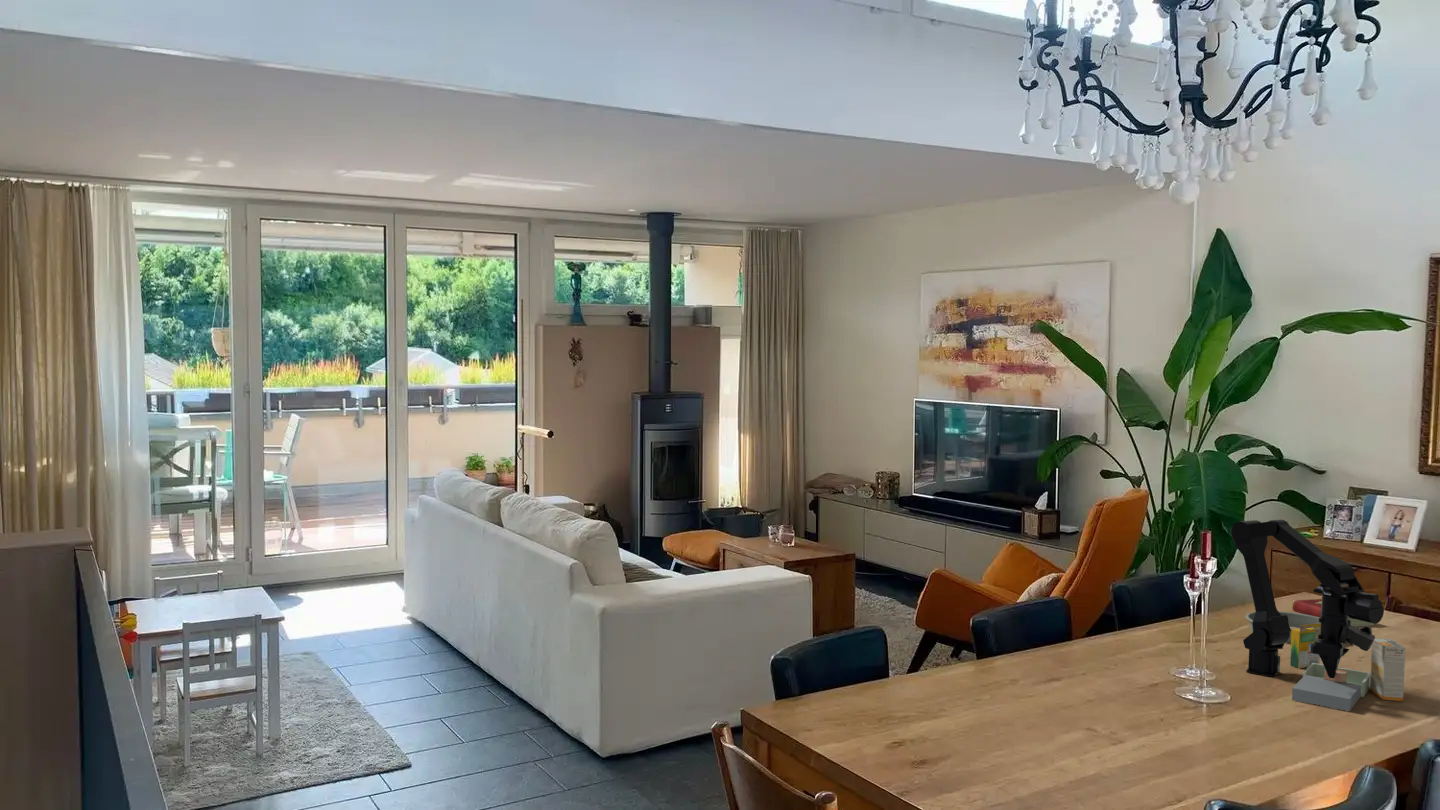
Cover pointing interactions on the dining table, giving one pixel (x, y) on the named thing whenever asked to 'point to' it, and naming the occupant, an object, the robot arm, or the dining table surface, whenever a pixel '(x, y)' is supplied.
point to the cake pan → (1291, 620)
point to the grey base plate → (1326, 692)
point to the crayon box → (1304, 645)
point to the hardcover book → (1319, 610)
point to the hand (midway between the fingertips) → (1331, 677)
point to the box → (1353, 677)
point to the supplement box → (1387, 669)
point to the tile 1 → (1337, 676)
